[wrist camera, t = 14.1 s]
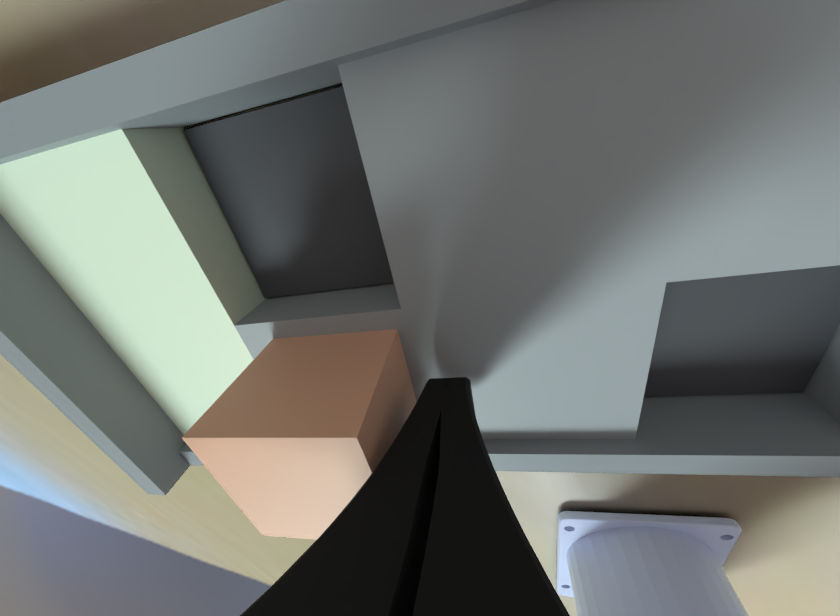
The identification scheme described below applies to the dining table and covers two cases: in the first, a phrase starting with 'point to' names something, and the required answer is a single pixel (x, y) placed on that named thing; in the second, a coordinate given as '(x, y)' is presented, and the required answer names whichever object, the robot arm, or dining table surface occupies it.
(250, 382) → the block
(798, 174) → the tray
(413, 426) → the robot arm
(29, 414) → the dining table surface
